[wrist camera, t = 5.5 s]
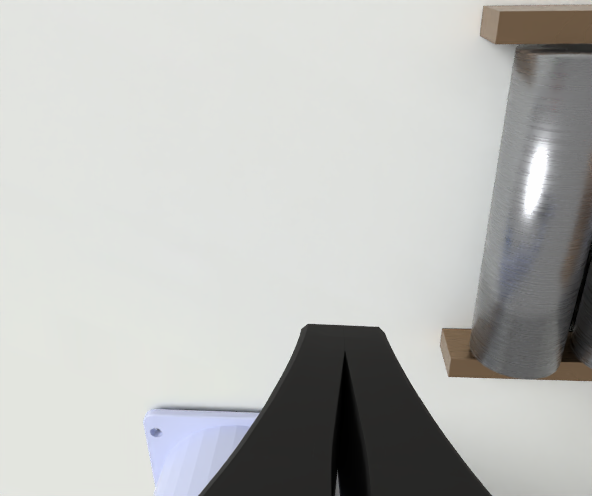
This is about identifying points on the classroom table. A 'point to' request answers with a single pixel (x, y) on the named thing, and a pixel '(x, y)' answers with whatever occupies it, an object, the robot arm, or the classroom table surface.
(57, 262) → the classroom table surface
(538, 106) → the roller track
